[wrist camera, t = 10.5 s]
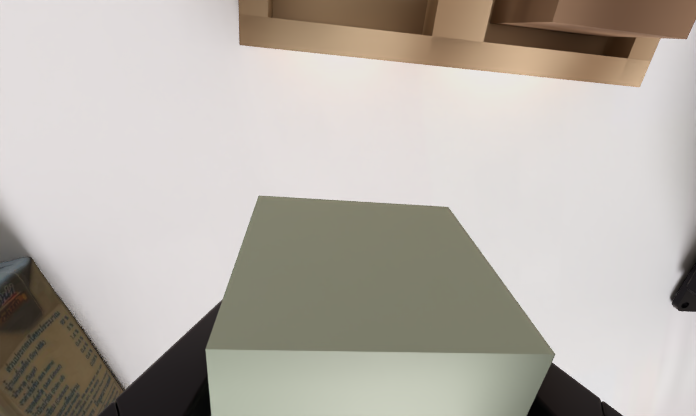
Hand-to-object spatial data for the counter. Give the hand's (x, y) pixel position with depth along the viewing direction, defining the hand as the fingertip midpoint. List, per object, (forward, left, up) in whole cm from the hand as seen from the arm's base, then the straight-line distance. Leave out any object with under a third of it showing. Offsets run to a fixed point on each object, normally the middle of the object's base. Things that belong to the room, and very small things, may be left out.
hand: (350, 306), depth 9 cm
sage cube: (0, 0, -1) cm, 1 cm away
